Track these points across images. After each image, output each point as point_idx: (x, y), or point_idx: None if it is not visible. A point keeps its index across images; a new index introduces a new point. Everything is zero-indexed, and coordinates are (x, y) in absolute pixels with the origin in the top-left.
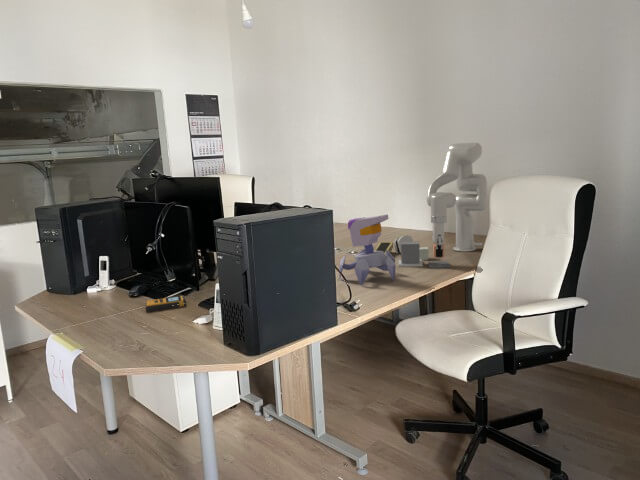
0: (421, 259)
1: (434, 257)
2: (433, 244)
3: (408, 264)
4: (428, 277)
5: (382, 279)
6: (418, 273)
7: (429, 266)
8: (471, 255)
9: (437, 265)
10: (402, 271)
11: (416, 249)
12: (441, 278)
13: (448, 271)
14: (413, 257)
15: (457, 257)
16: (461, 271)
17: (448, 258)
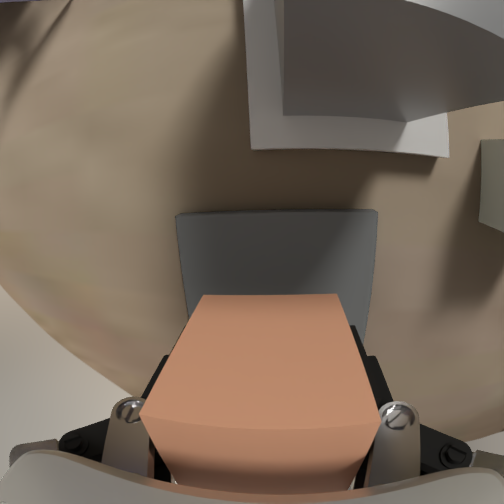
0: (485, 164)
1: (201, 303)
2: (326, 429)
3: (245, 18)
4: (3, 213)
5: (4, 16)
6: (49, 141)
7: (184, 217)
8: (468, 433)
9: (226, 291)
10: (99, 24)
11: (279, 7)
12: (7, 277)
13: (117, 338)
14: (277, 29)
15: (469, 395)
16: (135, 395)
17: (473, 357)
